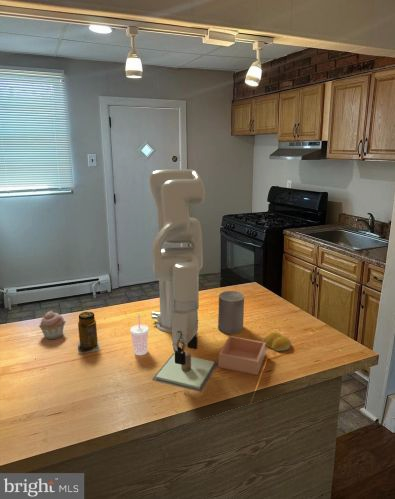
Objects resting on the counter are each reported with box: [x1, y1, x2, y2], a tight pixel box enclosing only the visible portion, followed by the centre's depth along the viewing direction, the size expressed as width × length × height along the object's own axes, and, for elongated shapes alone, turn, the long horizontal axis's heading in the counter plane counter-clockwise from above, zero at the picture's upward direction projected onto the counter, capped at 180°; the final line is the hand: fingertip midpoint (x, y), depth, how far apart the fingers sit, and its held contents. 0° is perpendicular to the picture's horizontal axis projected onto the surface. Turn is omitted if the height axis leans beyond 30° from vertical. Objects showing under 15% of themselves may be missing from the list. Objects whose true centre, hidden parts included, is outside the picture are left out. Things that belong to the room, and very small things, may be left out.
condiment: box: [76, 311, 101, 354], centre depth 130 cm, size 7×8×12 cm
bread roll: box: [263, 332, 291, 352], centre depth 133 cm, size 8×9×4 cm
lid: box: [156, 351, 216, 389], centre depth 116 cm, size 14×14×6 cm
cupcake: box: [38, 309, 67, 340], centre depth 138 cm, size 9×9×10 cm
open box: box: [217, 335, 267, 377], centre depth 122 cm, size 13×13×5 cm
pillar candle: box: [217, 290, 245, 335], centre depth 143 cm, size 10×10×15 cm
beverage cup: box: [129, 314, 149, 356], centre depth 126 cm, size 6×6×14 cm
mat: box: [151, 352, 218, 393], centre depth 117 cm, size 16×16×1 cm
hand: (186, 355), depth 114 cm, fingers open, 9 cm apart
